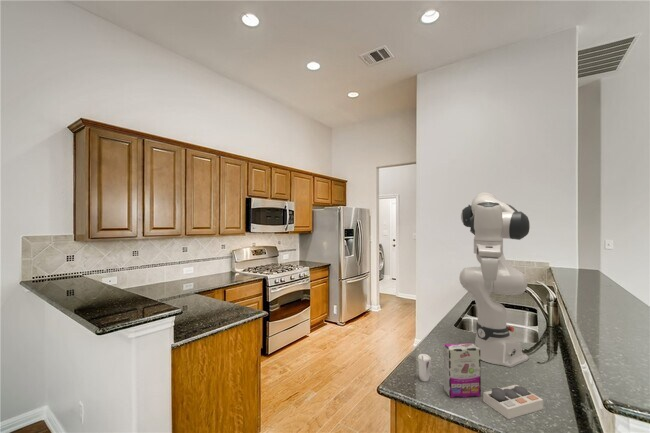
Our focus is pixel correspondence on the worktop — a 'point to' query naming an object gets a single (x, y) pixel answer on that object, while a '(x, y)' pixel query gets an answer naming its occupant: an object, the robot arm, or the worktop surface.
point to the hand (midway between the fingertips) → (487, 288)
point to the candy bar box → (462, 370)
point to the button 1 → (498, 394)
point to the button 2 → (521, 390)
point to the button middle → (510, 393)
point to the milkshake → (424, 367)
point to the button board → (514, 403)
